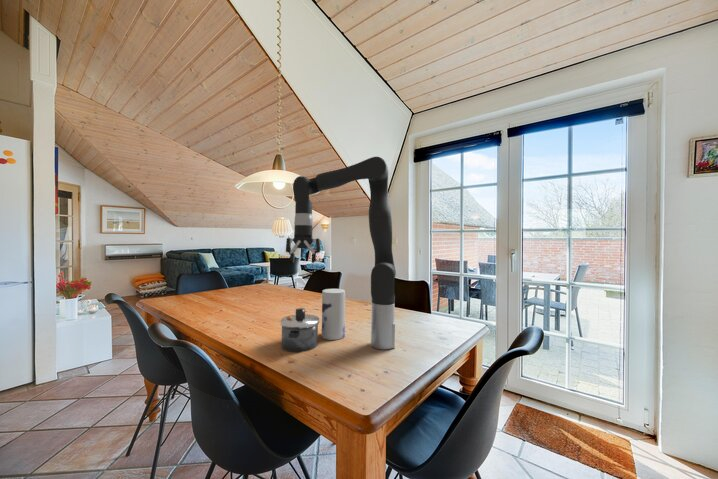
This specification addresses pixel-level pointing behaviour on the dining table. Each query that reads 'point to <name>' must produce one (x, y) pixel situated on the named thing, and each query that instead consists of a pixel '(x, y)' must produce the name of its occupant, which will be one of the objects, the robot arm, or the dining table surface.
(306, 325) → the lid
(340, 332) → the container
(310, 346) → the dark grey rounded piece
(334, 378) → the dining table surface
